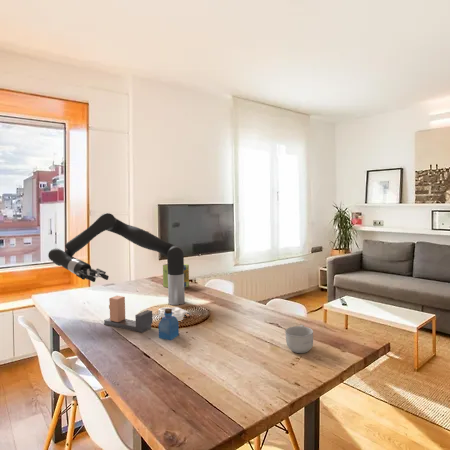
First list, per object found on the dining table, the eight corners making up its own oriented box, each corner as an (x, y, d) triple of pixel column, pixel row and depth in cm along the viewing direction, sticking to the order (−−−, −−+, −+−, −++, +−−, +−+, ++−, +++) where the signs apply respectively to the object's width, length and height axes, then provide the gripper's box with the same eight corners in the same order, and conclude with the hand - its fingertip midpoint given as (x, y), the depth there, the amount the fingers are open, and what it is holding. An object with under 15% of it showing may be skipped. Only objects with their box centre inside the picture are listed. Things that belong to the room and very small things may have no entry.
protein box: (179, 289, 232) (179, 266, 231) (162, 286, 240) (162, 264, 239) (189, 286, 241) (189, 264, 240) (172, 283, 249) (172, 262, 248)
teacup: (307, 358, 128) (308, 337, 128) (280, 352, 134) (280, 332, 134) (319, 345, 140) (319, 325, 140) (293, 339, 146) (293, 321, 145)
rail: (102, 324, 166) (102, 308, 165) (115, 319, 173) (114, 304, 173) (141, 333, 155) (140, 315, 154) (152, 327, 162) (152, 310, 161)
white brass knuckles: (194, 318, 175) (169, 325, 165) (176, 310, 189) (151, 316, 179) (194, 312, 175) (169, 318, 165) (175, 304, 188) (151, 309, 179)
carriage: (108, 320, 166) (107, 297, 165) (116, 317, 171) (115, 295, 170) (117, 322, 163) (117, 299, 162) (125, 319, 168) (124, 296, 167)
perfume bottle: (178, 335, 152) (178, 308, 152) (170, 340, 147) (170, 312, 146) (167, 333, 155) (166, 306, 154) (158, 338, 149) (158, 310, 149)
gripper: (69, 261, 171) (92, 273, 164) (91, 260, 184) (113, 270, 177) (65, 276, 172) (88, 288, 165) (88, 273, 185) (110, 284, 178)
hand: (101, 279), depth 171 cm, fingers open, 8 cm apart
